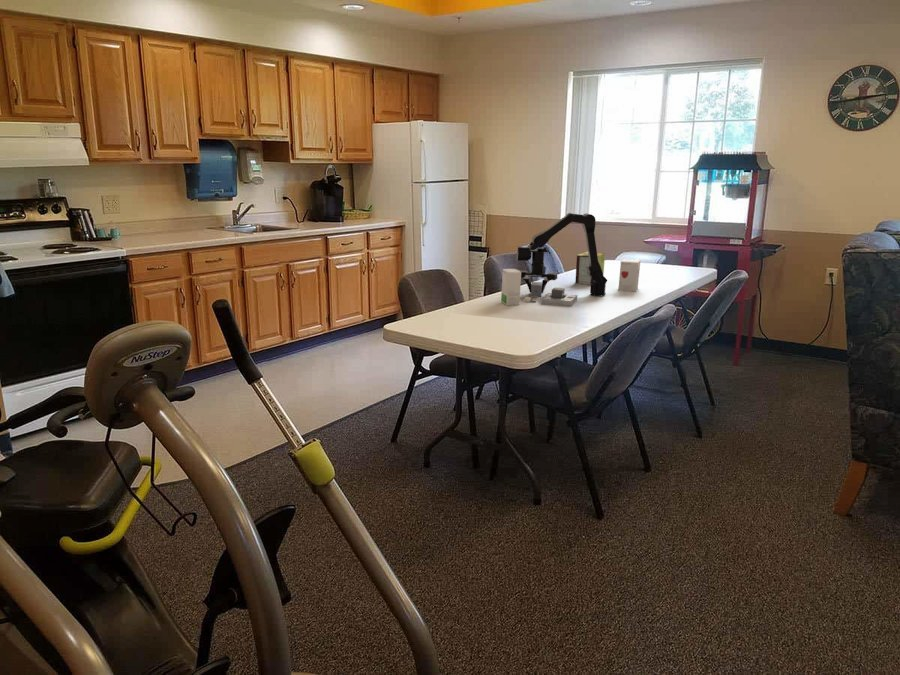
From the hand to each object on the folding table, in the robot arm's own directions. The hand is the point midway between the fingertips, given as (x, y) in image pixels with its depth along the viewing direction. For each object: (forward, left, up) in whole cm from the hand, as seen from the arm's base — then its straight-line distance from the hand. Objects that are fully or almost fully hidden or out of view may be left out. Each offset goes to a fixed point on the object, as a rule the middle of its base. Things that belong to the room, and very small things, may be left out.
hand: (536, 292), depth 317 cm
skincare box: (+6, +24, -1) cm, 25 cm away
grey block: (-13, +11, -1) cm, 17 cm away
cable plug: (-1, +16, -1) cm, 16 cm away
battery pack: (0, 0, -1) cm, 1 cm away
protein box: (-18, -44, -1) cm, 48 cm away
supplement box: (-40, -32, -1) cm, 51 cm away
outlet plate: (-15, +12, -1) cm, 19 cm away
